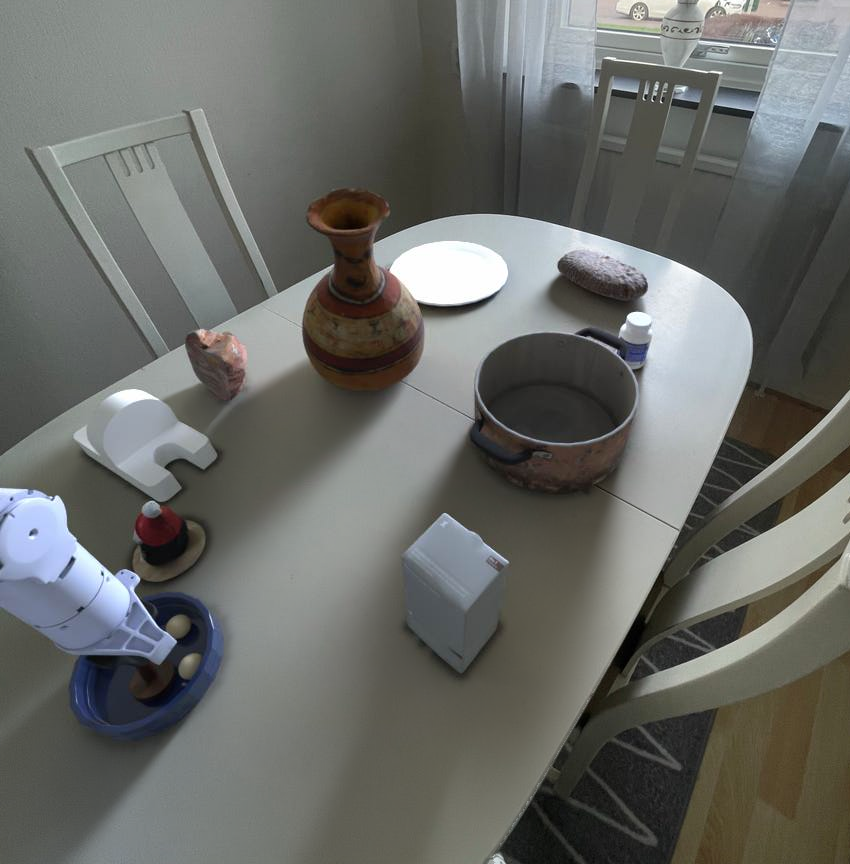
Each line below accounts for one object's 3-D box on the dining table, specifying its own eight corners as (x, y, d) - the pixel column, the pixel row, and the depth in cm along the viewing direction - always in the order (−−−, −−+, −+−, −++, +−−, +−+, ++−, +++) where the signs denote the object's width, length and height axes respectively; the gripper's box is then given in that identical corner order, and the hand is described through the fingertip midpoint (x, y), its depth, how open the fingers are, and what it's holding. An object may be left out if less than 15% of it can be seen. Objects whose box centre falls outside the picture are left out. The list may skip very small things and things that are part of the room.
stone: (192, 376, 87) (167, 329, 80) (237, 351, 92) (217, 305, 85) (233, 411, 81) (209, 364, 74) (278, 383, 86) (261, 336, 79)
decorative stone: (660, 284, 107) (666, 262, 103) (630, 317, 99) (636, 295, 95) (577, 255, 115) (580, 234, 112) (543, 283, 107) (545, 262, 104)
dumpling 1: (184, 620, 55) (199, 617, 57) (167, 612, 56) (183, 610, 58) (174, 644, 55) (190, 640, 57) (156, 635, 55) (173, 632, 57)
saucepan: (545, 352, 91) (550, 302, 84) (661, 412, 81) (680, 360, 74) (426, 456, 75) (420, 405, 68) (553, 547, 65) (563, 498, 57)
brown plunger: (149, 711, 51) (117, 660, 46) (123, 690, 52) (88, 639, 47) (185, 674, 54) (159, 623, 49) (159, 655, 55) (131, 604, 50)
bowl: (159, 765, 49) (142, 757, 46) (57, 709, 52) (36, 699, 50) (250, 629, 58) (239, 617, 55) (158, 589, 61) (144, 575, 59)
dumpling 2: (189, 689, 53) (194, 675, 52) (170, 676, 53) (175, 661, 52) (207, 670, 55) (212, 656, 54) (189, 657, 55) (194, 643, 54)
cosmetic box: (406, 627, 58) (388, 559, 47) (449, 579, 62) (442, 506, 51) (464, 680, 54) (459, 619, 43) (505, 625, 58) (511, 557, 47)
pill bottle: (647, 370, 88) (659, 329, 82) (616, 370, 88) (626, 329, 82) (640, 350, 92) (652, 309, 86) (611, 350, 92) (620, 309, 86)
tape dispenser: (162, 504, 69) (124, 454, 62) (83, 451, 76) (39, 400, 68) (220, 455, 75) (191, 404, 68) (142, 410, 82) (107, 358, 74)
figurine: (103, 515, 64) (157, 466, 60) (181, 537, 70) (236, 494, 66) (81, 579, 58) (140, 529, 54) (169, 596, 64) (227, 553, 60)
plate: (455, 234, 122) (454, 229, 121) (532, 277, 109) (532, 271, 108) (365, 273, 110) (365, 268, 109) (440, 326, 97) (440, 321, 96)
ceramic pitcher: (326, 418, 80) (272, 243, 60) (302, 342, 94) (251, 178, 73) (444, 381, 86) (431, 211, 65) (406, 315, 99) (385, 156, 78)
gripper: (173, 576, 42) (230, 639, 51) (44, 520, 45) (119, 588, 55) (99, 665, 37) (177, 716, 46) (-39, 594, 41) (59, 655, 50)
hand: (142, 651), depth 50 cm, fingers closed on brown plunger
